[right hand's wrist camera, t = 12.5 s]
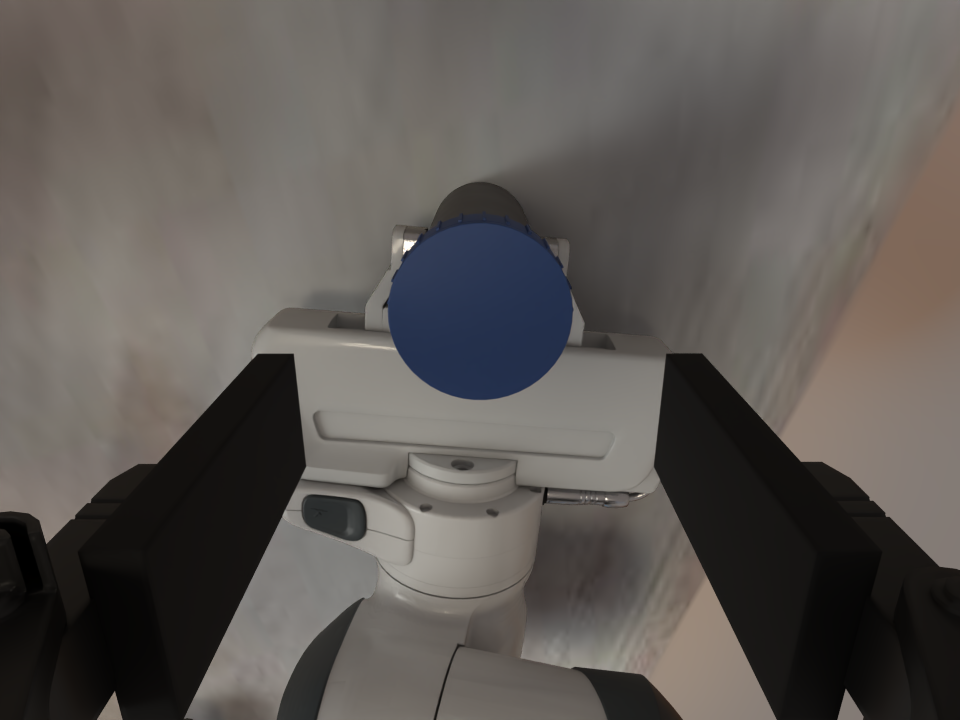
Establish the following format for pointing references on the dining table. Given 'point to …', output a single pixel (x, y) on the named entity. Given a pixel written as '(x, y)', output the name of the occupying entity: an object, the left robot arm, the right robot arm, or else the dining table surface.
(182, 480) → the right robot arm
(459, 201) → the jar
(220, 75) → the dining table surface
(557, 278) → the lid
